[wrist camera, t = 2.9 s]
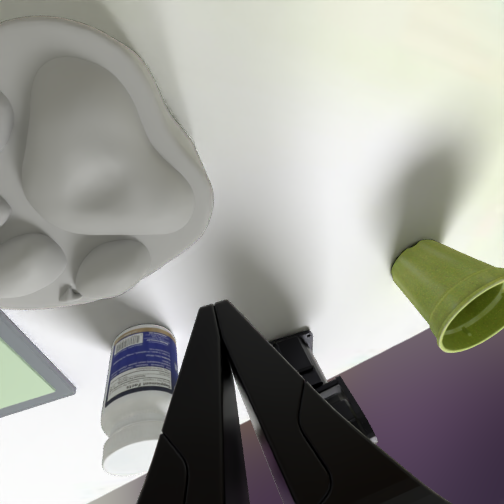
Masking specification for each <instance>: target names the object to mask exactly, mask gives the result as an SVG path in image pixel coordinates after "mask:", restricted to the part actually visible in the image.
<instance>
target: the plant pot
mask: <svg viewBox="0 0 504 504" xmlns="http://www.w3.org/2000/svg"><path fill="white" fill-rule="evenodd" d="M391 273H392V276H393V281H394V282H395V283H396V285H397V286H398V287H399V288H400V289H401V291H402V292H403V293H404V294H405V295H406V297H407V298H408V299H409V300H410V302H411V303H412V304H413V305H414V306H415V308H416V309H417V310H418V311H419V313H420V314H421V315H422V316H423V318H424V319H425V320H426V321H427V323H428V324H429V325H430V329H431V330H432V332H433V334H434V335H435V336H436V338H437V344H438V346H439V347H440V348H441V349H442V350H443V351H445V352H449V353H453V352H460V351H463V350H467V349H469V348H472V347H474V346H476V345H478V344H480V343H482V342H484V341H486V340H487V339H489V338H490V337H492V336H494V335H495V334H496V333H498V332H499V331H500V330H502V329H503V328H504V268H496V267H494V266H491V265H489V264H487V263H484V262H482V261H480V260H477V259H475V258H472V257H470V256H468V255H466V254H463V253H461V252H459V251H456V250H454V249H452V248H450V247H448V246H446V245H443V244H441V243H439V242H436V241H434V240H422V241H419V242H418V243H417V244H416V245H415V246H413V247H411V248H408V249H406V250H405V251H404V252H402V254H401V255H400V256H399V257H398V258H397V260H396V261H395V263H394V265H393V267H392V271H391Z"/></svg>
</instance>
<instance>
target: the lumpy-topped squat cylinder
mask: <svg viewBox="0 0 504 504" xmlns="http://www.w3.org/2000/svg"><path fill="white" fill-rule="evenodd" d="M213 203H214V196H213V189H212V186H211V183H210V181H209V179H208V177H207V174H206V171H205V169H204V167H203V164H202V162H201V160H200V157H199V155H198V153H197V151H196V148H195V146H194V144H193V143H192V141H191V139H190V138H189V137H188V135H187V134H186V133H185V132H184V130H183V129H182V128H181V127H180V126H179V124H178V123H177V122H176V121H175V119H174V118H173V116H172V115H171V113H170V112H169V110H168V108H167V107H166V105H165V103H164V100H163V98H162V96H161V94H160V91H159V89H158V87H157V84H156V82H155V80H154V78H153V76H152V74H151V72H150V70H149V69H148V67H147V66H146V64H145V63H144V61H143V60H142V59H141V58H140V57H139V56H138V55H137V54H136V53H135V52H134V51H133V50H132V49H130V48H129V47H127V46H126V45H124V44H122V43H121V42H119V41H118V40H116V39H114V38H113V37H111V36H109V35H107V34H106V33H104V32H102V31H100V30H98V29H96V28H94V27H91V26H89V25H86V24H84V23H80V22H77V21H74V20H70V19H65V18H60V17H52V16H29V17H20V18H16V19H12V20H7V21H4V22H1V23H0V308H1V309H12V310H36V309H47V308H57V307H65V306H72V305H79V304H85V303H90V302H93V301H97V300H99V299H105V298H112V297H116V296H119V295H121V294H123V293H125V292H127V291H128V290H130V289H131V288H133V287H134V286H135V285H136V284H137V283H138V282H139V281H140V280H142V279H143V278H145V277H147V276H149V275H150V274H152V273H153V272H155V271H157V270H158V269H160V268H161V267H162V266H164V265H165V264H166V263H168V262H169V261H171V260H173V259H174V258H176V257H177V256H179V255H180V254H181V253H183V252H184V251H186V250H187V249H188V248H189V247H190V246H192V245H193V244H194V243H195V242H196V241H197V240H198V239H199V238H200V237H201V236H202V235H203V233H204V231H205V230H206V228H207V226H208V223H209V221H210V218H211V214H212V210H213Z"/></svg>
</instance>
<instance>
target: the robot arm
mask: <svg viewBox="0 0 504 504" xmlns="http://www.w3.org/2000/svg"><path fill="white" fill-rule="evenodd" d="M312 345H313V334H312V332H311V331H310V330H308V331H304V332H301V333H298V334H295V335H292V336H289V337H286V338H283V339H279V340H276V341H273V342H270V343H269V342H268V341H267V340H266V339H265V338H264V337H263V336H262V335H261V333H260V332H259V331H258V330H257V329H256V328H255V327H254V326H253V325H252V324H251V323H250V322H249V321H248V320H247V319H246V318H245V317H244V316H243V315H242V314H241V313H240V312H239V311H238V310H237V309H236V308H235V307H234V305H233V304H232V303H231V302H230V301H228V300H223V301H220V302H216V303H215V304H214V305H213V304H210V305H206V306H203V307H200V309H199V311H198V314H197V317H196V320H195V324H194V327H193V330H192V333H191V337H190V340H189V343H188V346H187V349H186V353H185V356H184V359H183V362H182V366H181V369H180V372H179V375H178V378H177V382H176V385H175V388H174V391H173V395H172V398H171V401H170V404H169V407H168V411H167V414H166V417H165V420H164V423H163V427H162V430H161V431H162V433H161V434H160V436H159V439H158V442H157V446H156V449H155V452H154V455H153V458H152V461H151V464H150V467H149V470H148V473H147V476H146V479H145V482H144V485H143V487H142V490H141V492H140V495H139V497H138V500H137V503H136V504H250V502H249V493H248V486H247V478H246V470H245V462H244V455H243V447H242V439H241V432H240V424H239V417H238V409H237V401H236V394H235V386H234V379H233V375H234V378H235V381H236V384H237V386H238V389H239V392H240V394H241V397H242V399H243V402H244V404H245V407H246V409H247V412H248V414H249V417H250V420H251V422H252V425H253V427H254V429H255V432H256V435H257V437H258V440H259V442H260V445H261V447H262V450H263V453H264V455H265V458H266V460H267V463H268V465H269V468H270V470H271V473H272V475H273V478H274V481H275V483H276V486H277V488H278V491H279V493H280V496H281V498H282V501H283V503H284V504H452V503H450V502H448V501H447V500H445V499H444V498H443V497H441V496H440V495H438V494H437V493H435V492H434V491H433V490H431V489H430V488H428V487H427V486H426V485H425V484H423V483H422V482H421V481H420V480H418V479H417V478H416V477H414V476H413V475H412V474H411V473H410V472H408V471H407V470H406V469H405V468H404V467H402V466H401V465H400V464H399V463H398V462H396V461H395V460H394V459H393V458H391V457H390V456H389V455H388V454H387V453H385V452H384V451H383V450H382V449H381V448H379V447H378V446H377V445H376V443H378V440H377V438H376V436H375V434H374V432H373V430H372V428H371V426H370V424H369V422H368V420H367V419H366V417H365V415H364V414H363V412H362V410H361V408H360V407H359V405H358V404H357V402H356V401H355V399H354V397H353V396H352V394H351V393H350V391H349V389H348V388H347V386H346V385H345V383H344V382H343V380H342V378H341V377H340V376H338V377H336V378H335V379H334V380H332V381H330V382H327V380H326V378H325V376H324V374H323V372H322V370H321V368H320V367H319V365H318V363H317V361H316V359H315V357H314V355H313V353H312ZM231 369H232V370H231ZM232 372H233V374H232Z"/></svg>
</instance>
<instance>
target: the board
mask: <svg viewBox="0 0 504 504" xmlns="http://www.w3.org/2000/svg"><path fill="white" fill-rule="evenodd" d="M75 392H76V388H75V386H74V385H73V384H72V383H71V382H70V381H69V380H68V379H67V378H66V377H65V376H64V375H63V374H62V373H61V372H60V371H59V370H58V369H57V368H56V367H55V366H54V365H53V364H52V363H51V362H50V361H49V360H48V359H47V358H46V356H45V355H44V354H43V353H42V352H41V351H40V350H39V349H38V348H37V347H36V346H35V345H34V344H33V343H32V342H31V341H30V340H29V339H28V338H27V337H26V336H25V335H24V334H23V333H22V332H21V331H20V330H19V329H18V328H17V326H16V325H15V324H14V323H13V322H12V321H11V320H10V319H9V318H8V317H7V316H6V315H5V314H4V313H3V312H2V311H1V310H0V418H1V417H4V416H8V415H11V414H14V413H17V412H20V411H23V410H27V409H30V408H33V407H36V406H39V405H42V404H46V403H49V402H52V401H55V400H58V399H61V398H65V397H68V396H71V395H74V394H75Z"/></svg>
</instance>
